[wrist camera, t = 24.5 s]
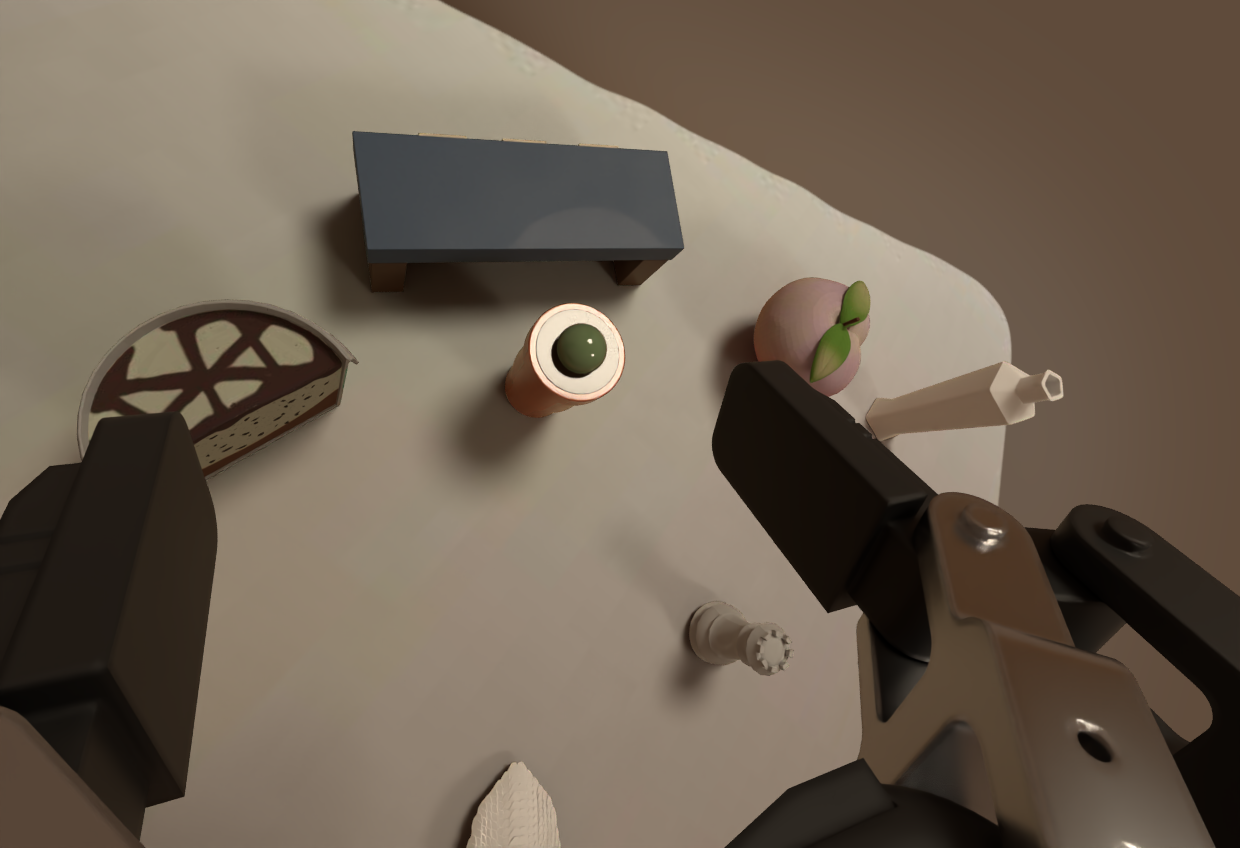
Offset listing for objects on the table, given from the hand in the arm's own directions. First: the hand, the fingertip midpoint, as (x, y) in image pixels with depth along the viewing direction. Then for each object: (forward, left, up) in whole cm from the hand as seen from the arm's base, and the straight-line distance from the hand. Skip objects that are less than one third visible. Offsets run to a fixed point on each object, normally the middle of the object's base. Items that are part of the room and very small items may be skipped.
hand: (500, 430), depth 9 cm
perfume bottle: (+40, +8, -33) cm, 53 cm away
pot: (+8, +8, -33) cm, 35 cm away
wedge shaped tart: (-10, +6, -33) cm, 35 cm away
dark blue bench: (+6, +19, -33) cm, 38 cm away
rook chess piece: (+22, -9, -33) cm, 41 cm away
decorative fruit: (+28, +13, -33) cm, 45 cm away
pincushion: (+7, -22, -33) cm, 40 cm away
